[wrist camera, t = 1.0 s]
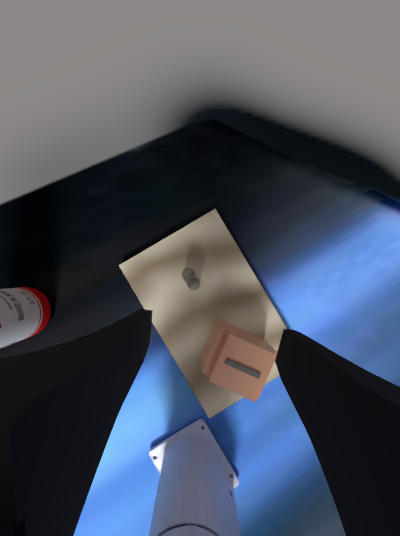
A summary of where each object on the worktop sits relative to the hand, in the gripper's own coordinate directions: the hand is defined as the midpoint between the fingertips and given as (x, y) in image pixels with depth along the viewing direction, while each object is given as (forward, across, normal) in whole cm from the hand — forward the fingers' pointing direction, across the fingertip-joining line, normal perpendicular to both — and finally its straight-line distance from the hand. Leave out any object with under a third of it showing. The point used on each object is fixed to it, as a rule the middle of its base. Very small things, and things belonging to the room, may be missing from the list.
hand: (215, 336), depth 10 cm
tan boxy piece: (+11, -4, +8) cm, 15 cm away
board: (+14, -1, +5) cm, 15 cm away
